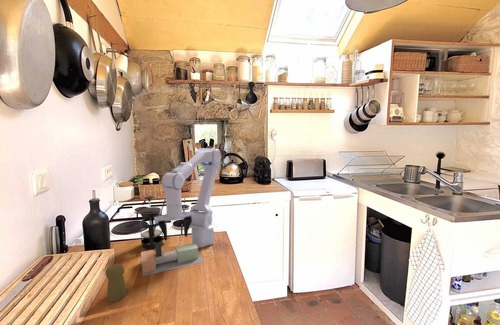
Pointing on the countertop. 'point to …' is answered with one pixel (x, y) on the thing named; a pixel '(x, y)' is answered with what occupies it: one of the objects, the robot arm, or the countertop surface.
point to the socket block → (148, 261)
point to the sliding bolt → (164, 255)
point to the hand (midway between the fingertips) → (175, 237)
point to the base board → (172, 265)
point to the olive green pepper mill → (115, 283)
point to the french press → (150, 227)
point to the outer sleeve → (187, 252)
